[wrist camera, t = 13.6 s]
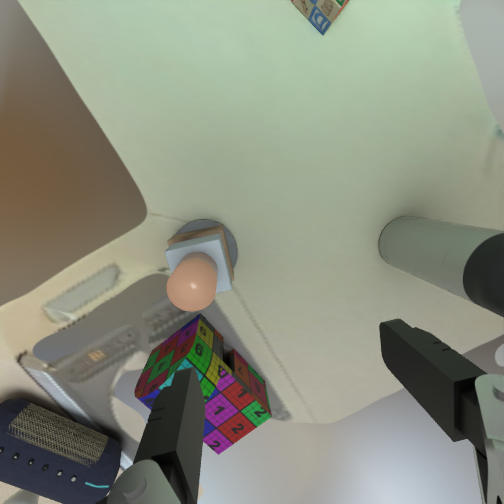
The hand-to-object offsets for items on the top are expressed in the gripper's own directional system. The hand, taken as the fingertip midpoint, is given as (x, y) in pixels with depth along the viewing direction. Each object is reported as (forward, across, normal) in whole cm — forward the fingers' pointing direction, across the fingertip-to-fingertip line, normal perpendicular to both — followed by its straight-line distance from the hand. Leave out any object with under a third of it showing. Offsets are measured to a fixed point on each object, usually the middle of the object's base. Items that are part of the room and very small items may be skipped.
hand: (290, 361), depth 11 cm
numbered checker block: (+35, +13, +28) cm, 46 cm away
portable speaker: (+34, +41, +30) cm, 61 cm away
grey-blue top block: (+28, +7, +2) cm, 29 cm away
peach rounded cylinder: (+23, +7, +2) cm, 24 cm away
